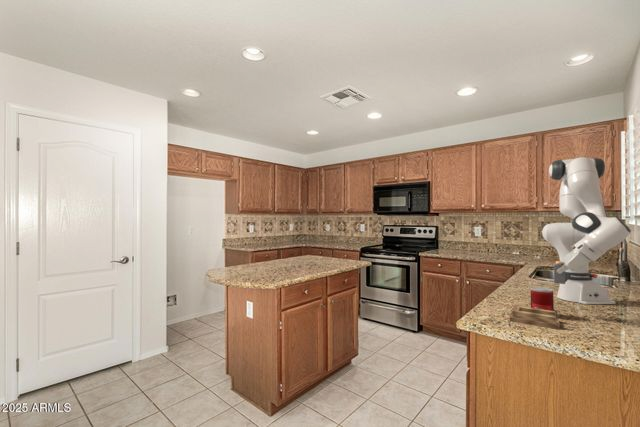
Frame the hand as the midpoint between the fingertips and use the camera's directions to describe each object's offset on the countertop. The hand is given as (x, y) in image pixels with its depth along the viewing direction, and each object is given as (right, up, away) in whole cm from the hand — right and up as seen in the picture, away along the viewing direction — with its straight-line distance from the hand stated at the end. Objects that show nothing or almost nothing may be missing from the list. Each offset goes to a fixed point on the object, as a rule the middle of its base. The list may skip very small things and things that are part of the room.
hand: (557, 271), depth 131 cm
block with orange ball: (+1, -5, 0) cm, 5 cm away
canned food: (-7, -19, -1) cm, 20 cm away
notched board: (-17, -18, -9) cm, 27 cm away
